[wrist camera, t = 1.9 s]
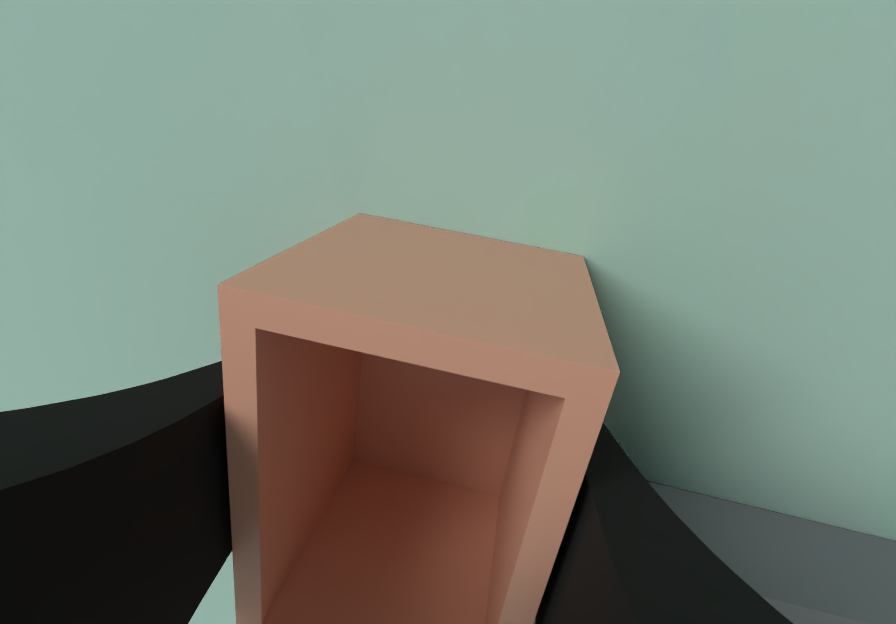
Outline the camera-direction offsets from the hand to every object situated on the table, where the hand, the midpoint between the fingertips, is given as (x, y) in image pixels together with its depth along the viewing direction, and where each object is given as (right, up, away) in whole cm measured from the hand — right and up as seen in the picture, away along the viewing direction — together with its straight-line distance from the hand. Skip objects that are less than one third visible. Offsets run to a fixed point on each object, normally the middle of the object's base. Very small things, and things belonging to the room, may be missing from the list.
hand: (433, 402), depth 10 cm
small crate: (0, +1, +1) cm, 1 cm away
